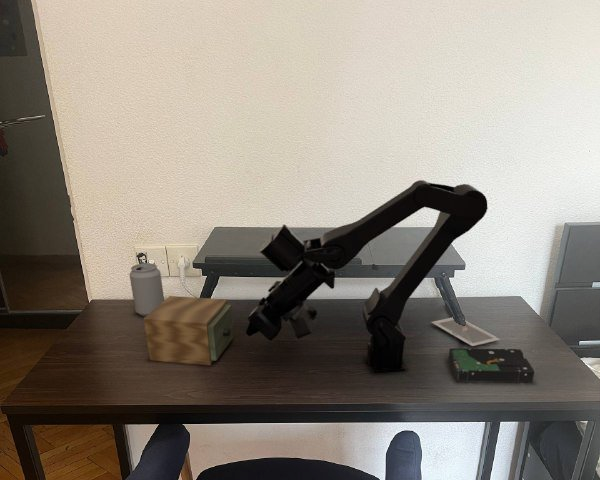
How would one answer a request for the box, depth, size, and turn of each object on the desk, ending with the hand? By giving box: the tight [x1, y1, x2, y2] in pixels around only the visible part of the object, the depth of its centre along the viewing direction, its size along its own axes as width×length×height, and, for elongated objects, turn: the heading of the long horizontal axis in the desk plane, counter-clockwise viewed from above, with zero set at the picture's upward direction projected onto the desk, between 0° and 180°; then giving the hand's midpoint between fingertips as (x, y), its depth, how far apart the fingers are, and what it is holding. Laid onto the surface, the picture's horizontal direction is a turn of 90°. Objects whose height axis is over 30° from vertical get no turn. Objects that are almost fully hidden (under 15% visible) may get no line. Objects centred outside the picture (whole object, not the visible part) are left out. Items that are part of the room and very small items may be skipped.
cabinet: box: [143, 295, 228, 366], centre depth 126 cm, size 14×14×10 cm
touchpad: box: [430, 316, 501, 347], centre depth 133 cm, size 8×15×2 cm, turn 25°
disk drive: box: [448, 347, 535, 383], centre depth 117 cm, size 10×3×15 cm
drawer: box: [208, 304, 235, 362], centre depth 126 cm, size 14×12×8 cm
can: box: [128, 262, 165, 317], centre depth 145 cm, size 8×8×12 cm
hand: (247, 334), depth 120 cm, fingers closed
